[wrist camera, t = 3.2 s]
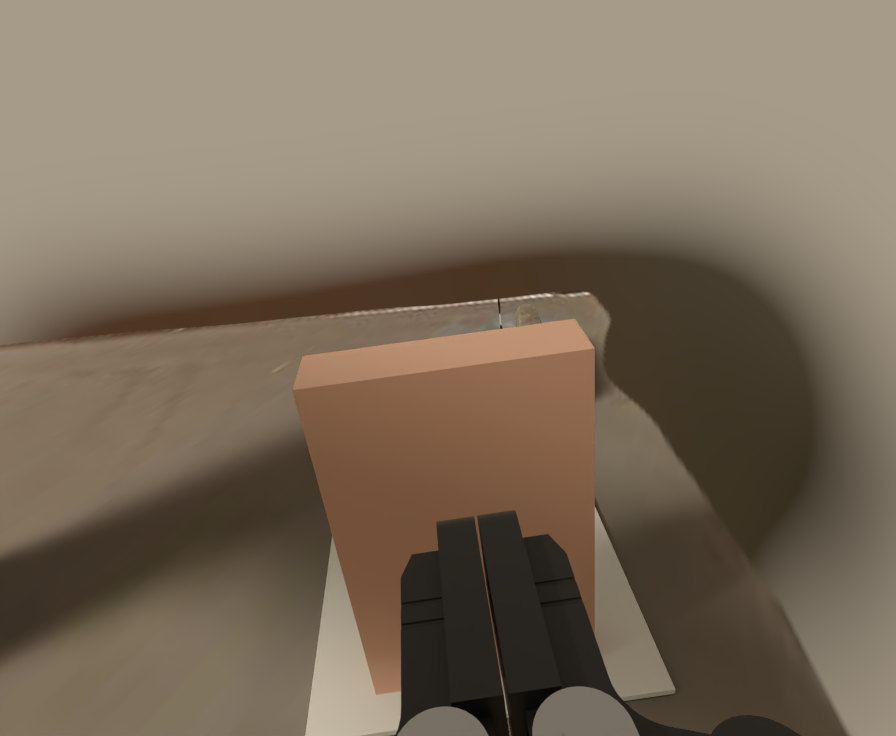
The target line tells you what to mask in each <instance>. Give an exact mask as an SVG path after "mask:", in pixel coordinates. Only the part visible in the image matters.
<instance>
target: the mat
mask: <svg viewBox="0 0 896 736" xmlns="http://www.w3.org/2000/svg"><path fill="white" fill-rule="evenodd" d="M595 638H596V641H597V644H598V647H599V649H600V652H601V655H602V658H603V661H604V664H605V667H606V670H607V673H608V676H609V678H610V681H611V683H612V685H613V687H614V689H615V690H616V692H617V694H618V695H619V696H620V697H621V699H622V700H623V701H628V700H635V699H642V698H649V697H655V696H662V695H669V694H675V687H674V685H673V683H672V681H671V678H670V676H669V674H668V672H667V669H666V667H665V665H664V662H663V660H662V658H661V656H660V653H659V651H658V649H657V647H656V644H655V642H654V640H653V637H652V635H651V633H650V631H649V628H648V626H647V624H646V621H645V619H644V617H643V615H642V612H641V610H640V608H639V606H638V603H637V601H636V599H635V596H634V594H633V592H632V590H631V587H630V585H629V583H628V581H627V578H626V576H625V574H624V571H623V569H622V567H621V565H620V562H619V560H618V558H617V556H616V553H615V551H614V549H613V546H612V544H611V542H610V540H609V537H608V535H607V533H606V530H605V528H604V526H603V524H602V521H601V519H600V517H599V515H598V512H597V510H596V508H595ZM501 681H502V677H501ZM502 687H503V682H502ZM503 693H504V688H503ZM504 700H505V694H504ZM505 708H506V716H507V718H509V717H508V712H507V706H506V700H505ZM400 717H401V691H400V692H393V693H386V694H379V695H376V693H375V689H374V686H373V682H372V678H371V675H370V671H369V667H368V664H367V660H366V657H365V653H364V649H363V646H362V642H361V638H360V635H359V631H358V627H357V624H356V620H355V617H354V613H353V609H352V606H351V602H350V598H349V595H348V591H347V587H346V584H345V580H344V576H343V573H342V569H341V566H340V562H339V558H338V555H337V551H336V547H335V544H334V540H333V536H332V541H331V549H330V556H329V564H328V571H327V578H326V586H325V593H324V601H323V608H322V616H321V623H320V631H319V638H318V646H317V653H316V660H315V668H314V675H313V683H312V690H311V698H310V705H309V713H308V720H307V728H306V735H305V736H389V735H396V732H397V730H398V727H399V722H400Z"/></svg>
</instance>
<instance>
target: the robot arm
mask: <svg viewBox="0 0 896 736" xmlns="http://www.w3.org/2000/svg"><path fill="white" fill-rule="evenodd" d="M477 518H478V526H479V533H480V541H481V548H482V556H483V563H484V571H485V578H486V585H487V591H488V597H487V591H486V585H485V579H484V573H483V567H482V561H481V555H480V549H479V543H478V537H477V531H476V525H475V519H474V516H471V517H465V518H458V519H451V520H444V521H438V522H436V527H437V539H438V551H431V552H425V553H418V554H412V555H411V557H410V559H409V561H408V564H407V566H406V568H405V570H404V572H403V574H402V576H401V717H400V722H399V727H398V730H397V732H396V735H395V736H509V731H508V723H507V716H506V708H505V700H506V706H507V712H508V717H509V723H510V729H511V735H512V736H800V735H799V734H797V733H796V732H794V731H793V730H791V729H789V728H788V727H786V726H784V725H782V724H780V723H778V722H775V721H773V720H771V719H767V718H763V717H759V716H751V715H746V716H737V717H732V718H730V719H727V720H725V721H723V722H722V723H721V724H719V725H718V726H717V727H716V728H715V729H714V730H713V732H712V734H706V733H700V732H695V731H689V730H684V729H679V728H673V727H668V726H664V725H661V724H658V723H655V722H653V721H650V720H648V719H646V718H645V717H643V716H641V715H639V714H638V713H637V712H635V711H634V710H632V709H631V708H630V707H629V706H628V705H627V704H626V703H625V702H624V701H623V700H622V699H621V697H620V696H619V695H618V694H617V692H616V690H615V689H614V687H613V685H612V683H611V681H610V678H609V676H608V673H607V670H606V667H605V664H604V661H603V658H602V655H601V652H600V649H599V647H598V644H597V641H596V638H595V635H594V632H593V629H592V626H591V623H590V620H589V617H588V615H587V612H586V609H585V606H584V603H583V602H582V598H581V594H580V591H579V588H578V585H577V582H575V577H574V574H573V571H572V568H571V565H570V562H569V559H568V556H567V553H566V552H565V551H564V550H563V549H562V548H561V547H560V546H559V545H558V544H557V543H556V542H555V541H554V540H553V539H552V538H551V536H550V535H549V534H544V535H538V536H531V537H524V538H523V537H522V533H521V529H520V525H519V521H518V517H517V514H516V511H515V510H511V511H504V512H497V513H490V514H484V515H477ZM488 598H489V603H488ZM489 604H490V609H489ZM490 610H491V615H490ZM491 616H492V621H491ZM492 622H493V627H492ZM493 628H494V633H493ZM494 634H495V639H494ZM495 640H496V645H495ZM496 646H497V651H496ZM497 652H498V657H497ZM498 658H499V663H498ZM499 664H500V669H499ZM500 670H501V675H500ZM501 676H502V681H501ZM502 682H503V687H502ZM503 688H504V693H503ZM504 694H505V700H504Z"/></svg>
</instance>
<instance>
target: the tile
mask: <svg viewBox="0 0 896 736" xmlns="http://www.w3.org/2000/svg"><path fill="white" fill-rule="evenodd" d="M292 391H293V395H294V398H295V402H296V405H297V409H298V413H299V416H300V420H301V424H302V427H303V431H304V435H305V438H306V442H307V446H308V449H309V453H310V456H311V460H312V464H313V467H314V471H315V475H316V478H317V482H318V486H319V489H320V493H321V496H322V500H323V504H324V507H325V511H326V515H327V518H328V522H329V526H330V529H331V533H332V536H333V540H334V544H335V547H336V551H337V555H338V558H339V562H340V566H341V569H342V573H343V576H344V580H345V584H346V587H347V591H348V595H349V598H350V602H351V606H352V609H353V613H354V617H355V620H356V624H357V627H358V631H359V635H360V638H361V642H362V646H363V649H364V653H365V657H366V660H367V664H368V667H369V671H370V675H371V678H372V682H373V686H374V689H375V693H376V695H379V694H386V693H393V692H400V691H401V576H402V574H403V572H404V570H405V568H406V566H407V564H408V561H409V559H410V557H411V555H412V554H418V553H425V552H431V551H438V539H437V527H436V522H438V521H444V520H451V519H458V518H465V517H471V516H474V519H475V525H476V531H477V537H478V543H479V549H480V555H481V561H482V567H483V573H484V579H485V585H486V578H485V571H484V563H483V556H482V548H481V541H480V533H479V526H478V518H477V515H484V514H490V513H497V512H504V511H511V510H515V511H516V514H517V517H518V521H519V525H520V529H521V533H522V537H523V538H524V537H531V536H538V535H544V534H549V535H550V536H551V538H552V539H553V540H554V541H555V542H556V543H557V544H558V545H559V546H560V547H561V548H562V549H563V550H564V551H565V552H566V553H567V556H568V559H569V562H570V565H571V568H572V571H573V574H574V577H575V582H577V585H578V588H579V591H580V594H581V598H582V602H583V603H584V606H585V609H586V612H587V615H588V617H589V620H590V623H591V626H592V629H593V632H594V635H595V348H594V347H593V345H592V344H591V342H590V341H589V339H588V338H587V336H586V335H585V333H584V332H583V330H582V329H581V327H580V326H579V324H578V323H577V322H576V320H575V319H570V320H563V321H555V322H548V323H541V324H533V325H526V326H519V327H512V328H504V329H497V330H490V331H483V332H475V333H468V334H461V335H453V336H446V337H439V338H432V339H424V340H417V341H410V342H403V343H395V344H388V345H381V346H373V347H366V348H359V349H352V350H344V351H337V352H330V353H323V354H315V355H308V356H303V357H302V361H301V364H300V367H299V370H298V373H297V377H296V380H295V383H294V386H293V390H292ZM486 591H487V585H486ZM487 597H488V591H487ZM488 603H489V598H488ZM489 609H490V604H489ZM490 615H491V610H490ZM491 621H492V616H491ZM492 627H493V622H492ZM493 633H494V628H493ZM494 639H495V634H494ZM495 645H496V640H495ZM496 651H497V646H496ZM497 657H498V652H497ZM498 663H499V658H498ZM499 669H500V664H499ZM500 675H501V670H500ZM501 677H502V676H501Z"/></svg>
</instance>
